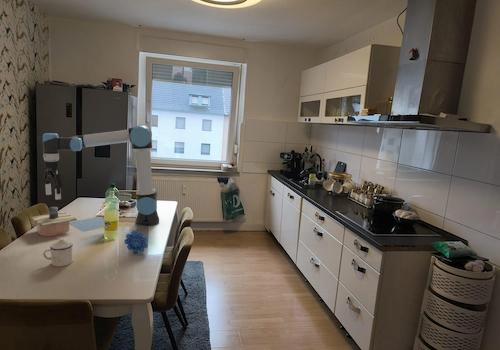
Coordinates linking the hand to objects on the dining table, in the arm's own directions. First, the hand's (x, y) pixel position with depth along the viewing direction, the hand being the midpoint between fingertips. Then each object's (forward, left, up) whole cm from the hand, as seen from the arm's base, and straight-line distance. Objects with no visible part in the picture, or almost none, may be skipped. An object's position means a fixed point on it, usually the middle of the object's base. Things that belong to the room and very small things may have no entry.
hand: (53, 196), depth 191 cm
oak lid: (0, 0, -14) cm, 14 cm away
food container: (+25, -60, -21) cm, 68 cm away
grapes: (-59, -17, -21) cm, 65 cm away
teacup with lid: (-45, +15, -21) cm, 52 cm away
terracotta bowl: (0, 0, -21) cm, 21 cm away
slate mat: (-2, -22, -21) cm, 30 cm away
